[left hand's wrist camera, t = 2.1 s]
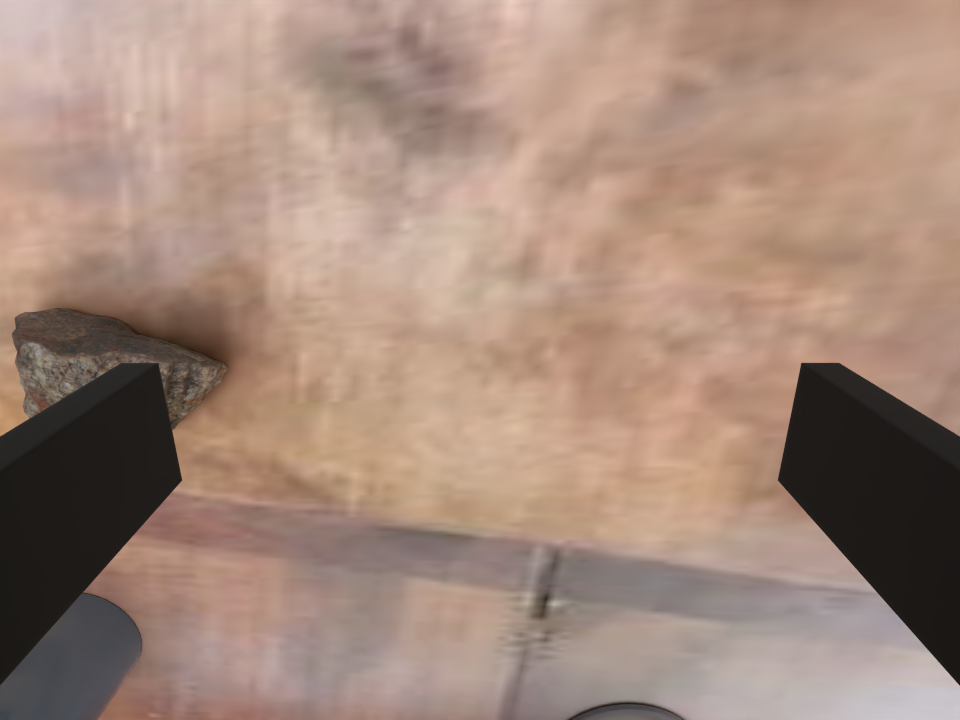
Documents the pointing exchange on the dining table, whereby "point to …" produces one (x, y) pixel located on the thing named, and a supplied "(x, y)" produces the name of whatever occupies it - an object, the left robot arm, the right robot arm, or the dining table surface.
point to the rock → (102, 359)
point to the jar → (74, 665)
